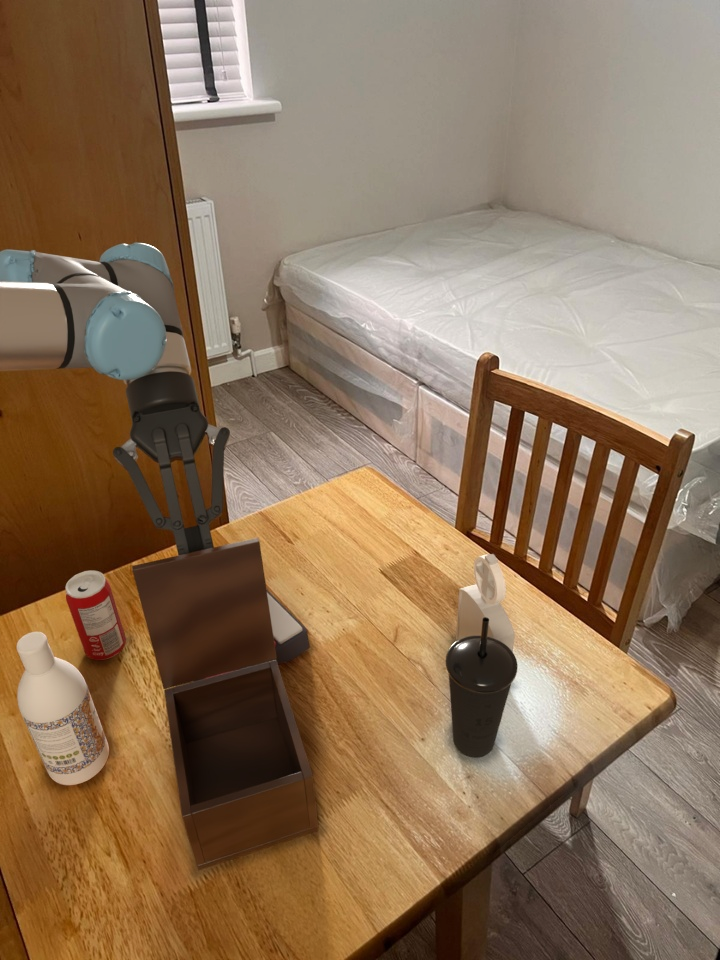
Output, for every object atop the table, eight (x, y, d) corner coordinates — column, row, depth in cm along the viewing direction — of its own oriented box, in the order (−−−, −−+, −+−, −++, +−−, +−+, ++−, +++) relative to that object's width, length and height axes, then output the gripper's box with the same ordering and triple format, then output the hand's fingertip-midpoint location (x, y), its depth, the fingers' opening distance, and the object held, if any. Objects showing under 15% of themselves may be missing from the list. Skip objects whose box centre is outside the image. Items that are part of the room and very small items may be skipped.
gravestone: (473, 634, 100) (483, 531, 90) (507, 685, 93) (522, 580, 82) (455, 639, 99) (462, 536, 89) (488, 692, 92) (500, 586, 82)
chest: (318, 830, 78) (312, 775, 72) (197, 871, 74) (182, 816, 69) (283, 714, 90) (276, 659, 84) (178, 744, 87) (163, 689, 81)
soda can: (101, 627, 103) (80, 563, 96) (134, 636, 101) (115, 572, 94) (76, 656, 98) (53, 591, 92) (111, 666, 97) (89, 601, 90)
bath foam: (116, 769, 84) (73, 650, 73) (54, 798, 81) (-1, 678, 70) (102, 726, 89) (59, 607, 78) (43, 751, 86) (-10, 632, 75)
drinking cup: (430, 724, 88) (435, 604, 77) (486, 705, 90) (500, 585, 79) (459, 778, 82) (470, 656, 71) (518, 756, 84) (538, 634, 73)
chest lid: (259, 541, 75) (258, 537, 76) (132, 570, 72) (131, 565, 73) (276, 659, 84) (275, 654, 84) (163, 689, 80) (162, 684, 81)
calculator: (166, 636, 96) (263, 582, 103) (174, 658, 98) (267, 603, 105) (207, 688, 89) (307, 626, 96) (213, 710, 91) (311, 647, 98)
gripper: (93, 379, 76) (139, 600, 73) (217, 359, 80) (266, 570, 76) (103, 401, 84) (144, 603, 80) (216, 382, 87) (260, 575, 83)
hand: (203, 587), depth 78 cm, fingers closed
